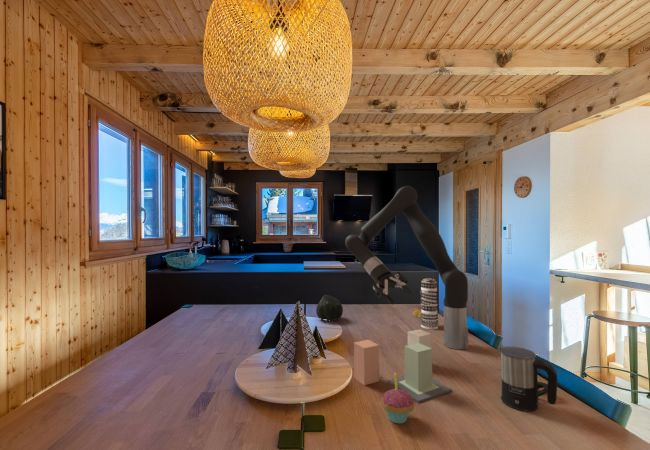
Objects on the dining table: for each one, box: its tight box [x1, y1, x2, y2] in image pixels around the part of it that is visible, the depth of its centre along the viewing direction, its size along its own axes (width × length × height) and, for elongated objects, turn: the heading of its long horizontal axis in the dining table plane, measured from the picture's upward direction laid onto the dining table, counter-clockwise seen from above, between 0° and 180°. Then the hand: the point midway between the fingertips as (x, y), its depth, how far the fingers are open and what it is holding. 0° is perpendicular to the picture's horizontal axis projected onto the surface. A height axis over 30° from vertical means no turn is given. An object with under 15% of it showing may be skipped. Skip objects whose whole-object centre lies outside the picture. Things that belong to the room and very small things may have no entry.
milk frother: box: [498, 345, 558, 412], centre depth 93 cm, size 14×16×15 cm
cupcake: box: [381, 369, 415, 424], centre depth 83 cm, size 9×8×12 cm
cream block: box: [406, 328, 432, 348], centre depth 116 cm, size 6×6×12 cm
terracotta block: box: [353, 339, 380, 386], centre depth 105 cm, size 6×6×12 cm
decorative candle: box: [419, 277, 439, 330], centre depth 163 cm, size 9×9×25 cm
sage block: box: [404, 343, 433, 391], centre depth 100 cm, size 6×6×12 cm
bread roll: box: [412, 309, 422, 319], centre depth 182 cm, size 8×9×4 cm
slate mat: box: [387, 375, 453, 404], centre depth 100 cm, size 14×14×1 cm
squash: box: [316, 294, 344, 322], centre depth 177 cm, size 14×15×15 cm
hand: (402, 298), depth 122 cm, fingers open, 8 cm apart
